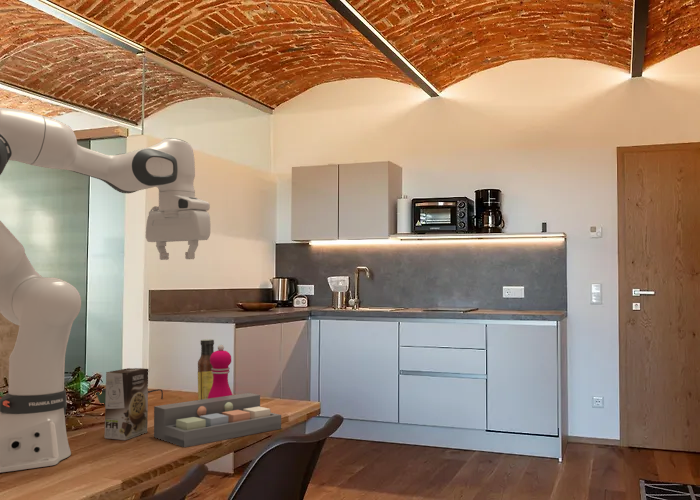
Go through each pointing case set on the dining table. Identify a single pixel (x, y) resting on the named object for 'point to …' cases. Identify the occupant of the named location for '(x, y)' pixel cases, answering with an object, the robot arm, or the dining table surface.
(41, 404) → the robot arm
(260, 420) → the keypad
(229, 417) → the key terracotta
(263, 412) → the key cream
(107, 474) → the dining table surface
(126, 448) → the dining table surface
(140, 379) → the cookie box
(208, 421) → the key slate
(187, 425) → the key sage
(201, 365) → the sauce bottle
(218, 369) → the pepper mill
